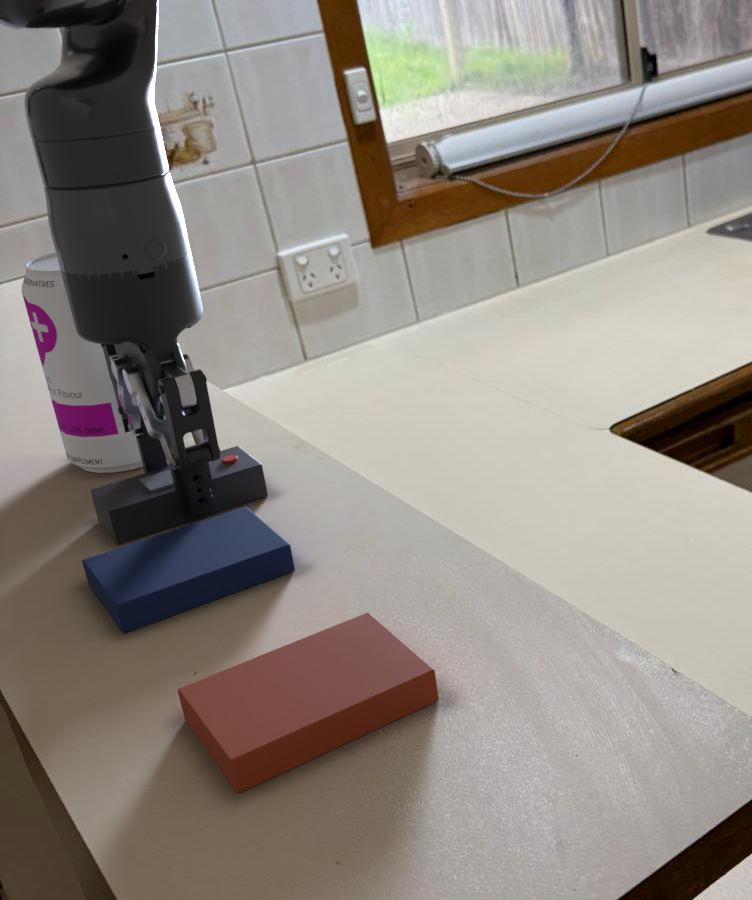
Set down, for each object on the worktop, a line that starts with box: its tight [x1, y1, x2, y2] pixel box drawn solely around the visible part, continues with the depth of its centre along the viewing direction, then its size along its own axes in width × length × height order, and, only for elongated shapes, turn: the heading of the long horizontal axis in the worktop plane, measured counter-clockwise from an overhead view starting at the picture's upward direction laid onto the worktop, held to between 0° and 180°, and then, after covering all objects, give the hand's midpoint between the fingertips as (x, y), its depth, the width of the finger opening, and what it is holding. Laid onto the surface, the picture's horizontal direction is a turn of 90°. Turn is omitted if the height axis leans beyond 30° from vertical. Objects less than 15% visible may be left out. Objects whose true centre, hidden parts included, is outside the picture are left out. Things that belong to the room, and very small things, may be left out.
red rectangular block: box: [177, 612, 440, 794], centre depth 54 cm, size 7×10×2 cm
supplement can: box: [21, 251, 143, 474], centre depth 83 cm, size 8×8×15 cm
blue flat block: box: [81, 506, 296, 634], centre depth 67 cm, size 7×10×2 cm
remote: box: [89, 445, 269, 546], centre depth 76 cm, size 10×4×3 cm, turn 127°
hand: (182, 498), depth 76 cm, fingers open, 6 cm apart
